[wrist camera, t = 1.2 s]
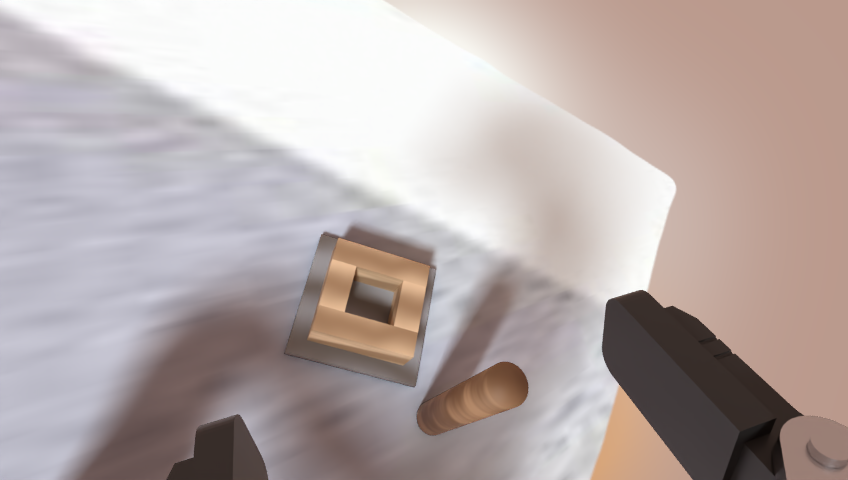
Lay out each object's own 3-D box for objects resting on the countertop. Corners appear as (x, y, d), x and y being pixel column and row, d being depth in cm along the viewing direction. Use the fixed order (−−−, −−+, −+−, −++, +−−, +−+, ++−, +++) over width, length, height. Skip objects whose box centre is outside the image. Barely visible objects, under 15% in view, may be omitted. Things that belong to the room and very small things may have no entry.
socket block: (413, 387, 64) (426, 378, 60) (284, 353, 61) (288, 342, 57) (433, 271, 72) (446, 257, 68) (320, 236, 69) (326, 219, 65)
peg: (445, 438, 63) (526, 412, 46) (414, 431, 62) (485, 401, 45) (450, 405, 65) (529, 367, 48) (419, 397, 64) (489, 356, 47)
